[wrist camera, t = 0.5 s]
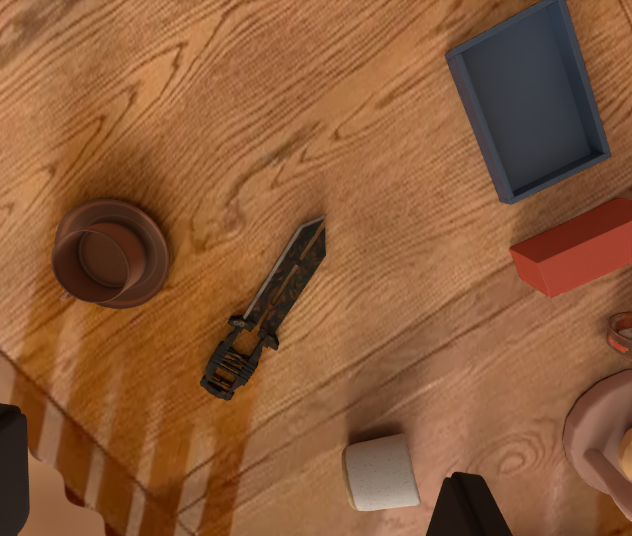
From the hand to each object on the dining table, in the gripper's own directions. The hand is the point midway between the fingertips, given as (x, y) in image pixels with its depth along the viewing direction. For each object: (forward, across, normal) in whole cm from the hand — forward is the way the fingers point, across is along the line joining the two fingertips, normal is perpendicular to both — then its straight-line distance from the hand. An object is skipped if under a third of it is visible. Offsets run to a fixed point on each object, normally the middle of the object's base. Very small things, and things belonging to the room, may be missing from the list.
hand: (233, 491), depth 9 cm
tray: (+35, -20, -15) cm, 43 cm away
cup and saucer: (+36, +19, +6) cm, 41 cm away
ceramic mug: (+36, -15, +28) cm, 48 cm away
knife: (+36, +2, +10) cm, 37 cm away
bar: (+36, -29, -3) cm, 46 cm away
